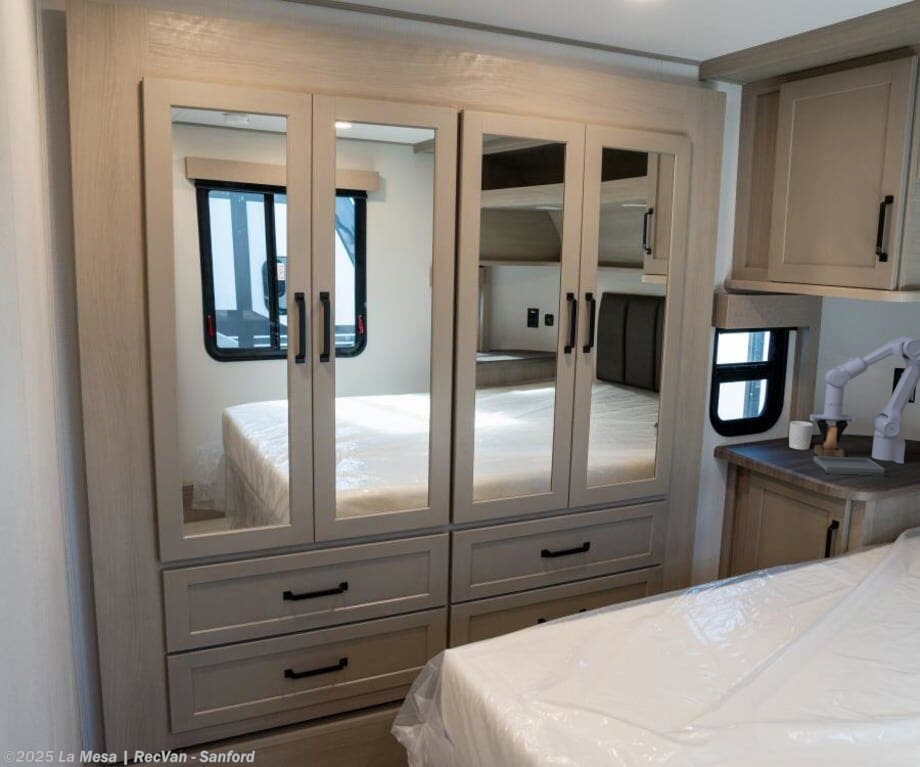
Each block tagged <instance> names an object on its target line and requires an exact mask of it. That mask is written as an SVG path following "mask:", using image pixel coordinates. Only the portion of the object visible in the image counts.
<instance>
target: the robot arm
mask: <svg viewBox="0 0 920 767" xmlns="http://www.w3.org/2000/svg"><path fill="white" fill-rule="evenodd" d="M890 356H901V357H902V359H903V360H904V363H905V364H906V367H905V368H904V371H903V372H902V374H901V377H900V378H899V380H898V382H897V384H896V387H895V389H894V390H893V393H892V394H891V396H890V399H889V401H888V403H887V405H886V406H885V407H884V408H883V409H881V410H880V412H879V413H878V415H877V416H874V419H873V420H872V427H873V429H874V430H875V431H874V433H873V440H872V450H871V458H872V459H876V460H880V461H887V462H888V461H893V462H895V463H896V464H905V461H904V460H905V449H906V441H905V438H904V437H903V436H902V435H901V436H900V433H901V431H902V423H903V421H904V415H903V412H904V411H905V408H906V407H907V404H908V403H909V401H910V399H911V397H912V395H913V392H914V391H915V388H916V387H917V385H918V382H919V380H920V339H919V338H916V337H911V336H909V335H906V334H905V335H904V334H903V335H900V336H898V337H896V338H893V339H891V340H889V341H888V342H887V343H885V344H884V345H882V346H880V347H879V348H877V349H875V350H874V351H872V352H870V353H868V354H867V355H866V356H865V355H864V357H858V356H857V357H855V358H854V357H850V358H849V361H847V362H845V363H843V364H841V365H840V364H838V365H837V366H836V368H832V369H831V368H830V369H829V370H828V371H827V372H826V374H825V375H824V380H825V382H826V388H825V396H824V407H823V408H824V409H823V413H818V414H810V415H809V421H811V422H815V423H816V425H817V426H818V429H819V433H820V439H821V441H822V442H823V443H824V442H825V441H826V432H827V427H828V426H829V424H828V423H827V422H835V426H836V427H838V431H837V441H836V443H839V442H840V440H841V437H842V435H843V433H844V431H845V430H846V428H847V427H848V425H849V424H848V422H850V423H855V422H856V416H854V415H847V414H843V408H844V406H843V405H844V396H845V395H844V394H845V386H846V385H847V384H848V382H849V381H851V380H852V379H855V378H857V377H859V376H861V375H862V374H864V373H865V372H867V371H868V368H869V367H870V366H871V365H873V364H875V363H877V362H880V361H882V360H884V359H885V358H887V357H890Z"/></svg>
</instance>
